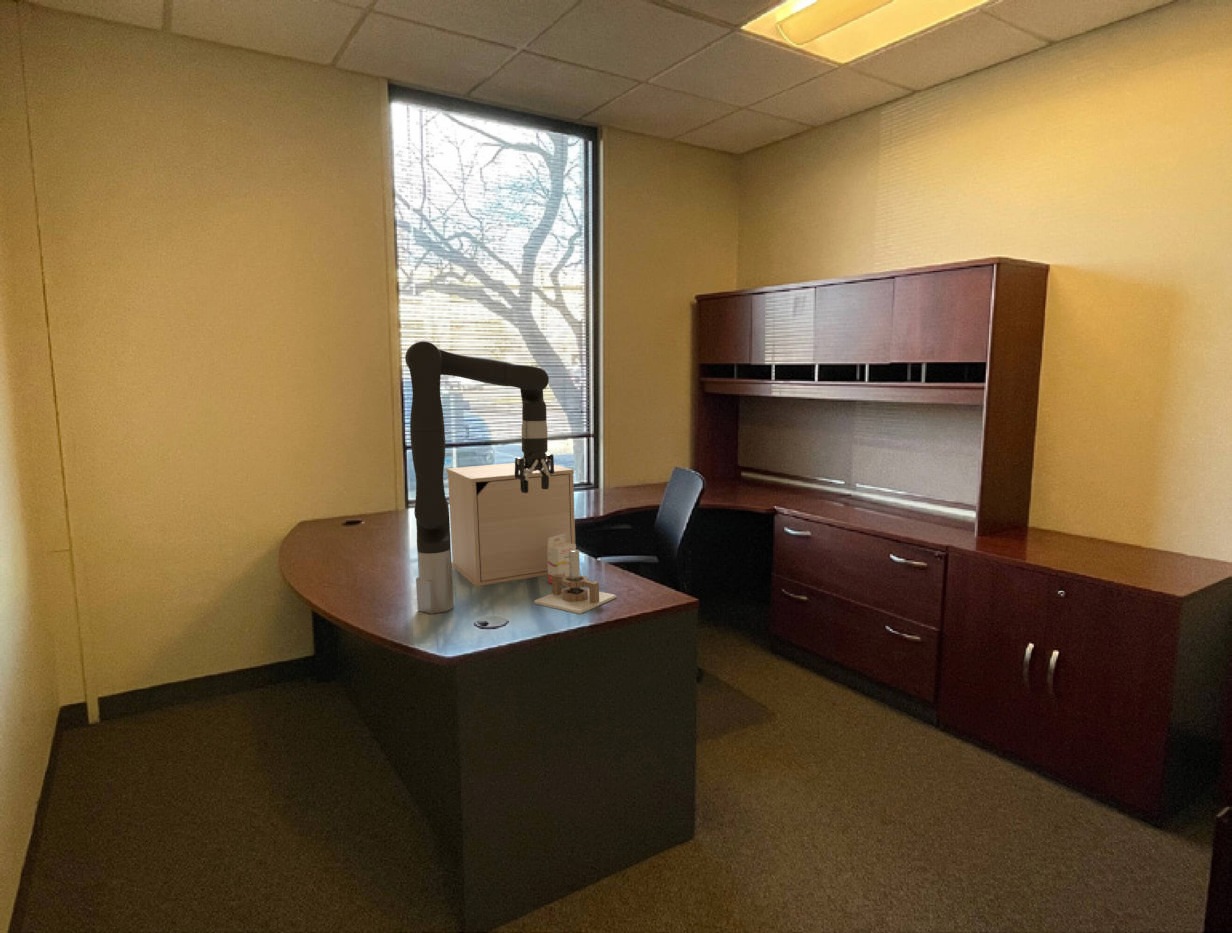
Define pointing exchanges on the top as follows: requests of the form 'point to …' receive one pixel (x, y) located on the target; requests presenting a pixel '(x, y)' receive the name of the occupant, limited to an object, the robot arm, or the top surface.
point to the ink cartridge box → (558, 556)
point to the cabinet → (507, 521)
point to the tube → (574, 569)
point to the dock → (573, 605)
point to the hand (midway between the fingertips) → (535, 490)
